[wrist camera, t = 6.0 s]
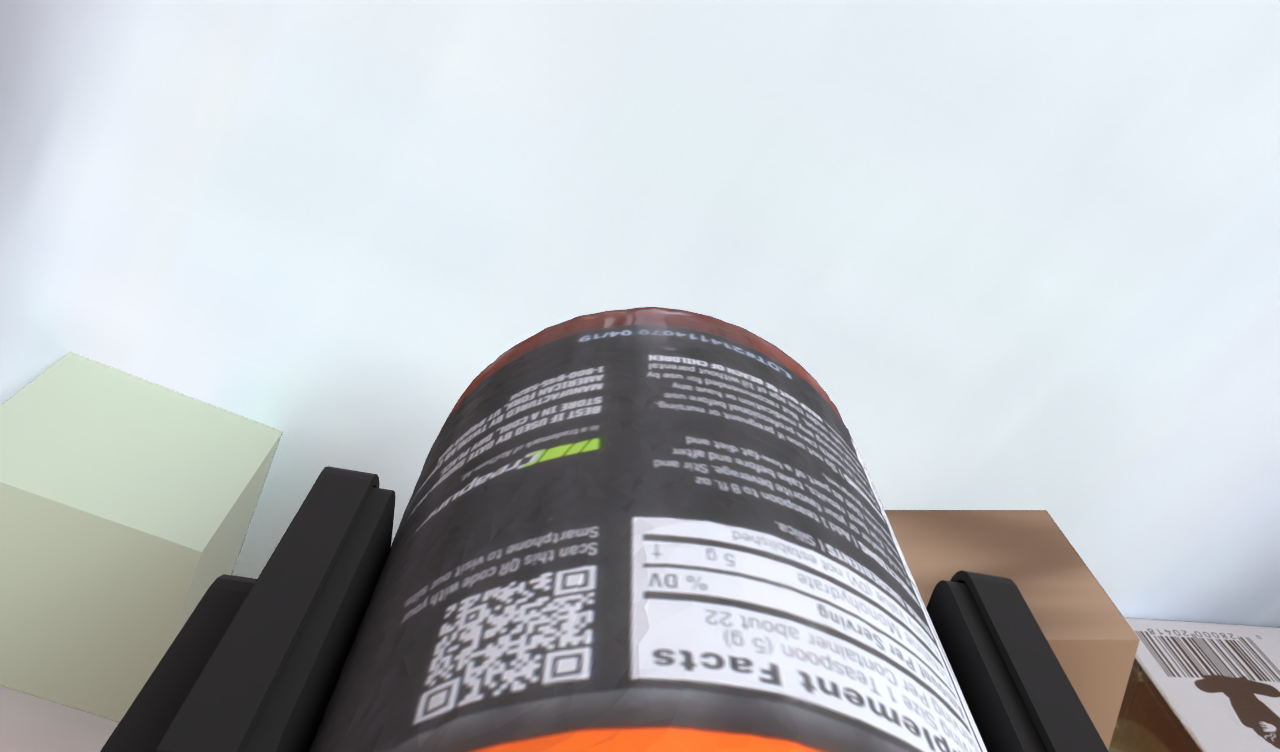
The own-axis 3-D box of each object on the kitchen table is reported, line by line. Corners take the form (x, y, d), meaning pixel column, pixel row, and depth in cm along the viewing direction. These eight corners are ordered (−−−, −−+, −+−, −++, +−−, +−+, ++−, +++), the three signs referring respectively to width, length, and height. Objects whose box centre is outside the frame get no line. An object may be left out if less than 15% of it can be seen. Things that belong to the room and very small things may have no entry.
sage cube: (283, 430, 23) (201, 551, 19) (228, 584, 25) (141, 729, 21) (72, 350, 22) (-68, 458, 18) (31, 517, 24) (-105, 653, 20)
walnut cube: (1045, 508, 25) (1139, 639, 20) (1011, 663, 27) (1090, 813, 22) (849, 508, 25) (900, 640, 20) (830, 663, 27) (872, 814, 22)
